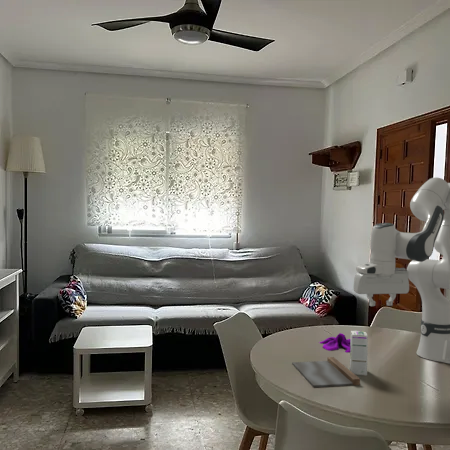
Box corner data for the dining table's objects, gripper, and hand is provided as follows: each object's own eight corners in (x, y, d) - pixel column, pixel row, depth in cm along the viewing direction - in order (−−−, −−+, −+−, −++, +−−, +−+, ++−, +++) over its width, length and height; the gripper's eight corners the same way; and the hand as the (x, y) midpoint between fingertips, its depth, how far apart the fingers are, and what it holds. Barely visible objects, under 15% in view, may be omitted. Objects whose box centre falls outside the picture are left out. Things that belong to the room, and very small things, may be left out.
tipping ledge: (333, 362, 175) (333, 357, 174) (359, 384, 153) (360, 378, 153) (292, 363, 172) (292, 358, 172) (313, 387, 150) (313, 381, 150)
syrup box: (367, 375, 161) (368, 335, 161) (350, 374, 162) (351, 334, 162) (365, 370, 167) (367, 331, 166) (349, 368, 168) (350, 330, 167)
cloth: (363, 342, 203) (363, 328, 202) (366, 356, 185) (367, 341, 184) (312, 338, 208) (312, 325, 207) (311, 351, 190) (311, 336, 189)
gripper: (403, 266, 169) (402, 303, 170) (352, 266, 166) (351, 304, 166) (413, 269, 163) (412, 307, 163) (360, 269, 159) (358, 308, 160)
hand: (380, 305), depth 165 cm, fingers open, 5 cm apart
